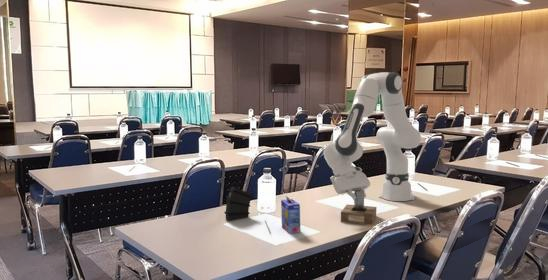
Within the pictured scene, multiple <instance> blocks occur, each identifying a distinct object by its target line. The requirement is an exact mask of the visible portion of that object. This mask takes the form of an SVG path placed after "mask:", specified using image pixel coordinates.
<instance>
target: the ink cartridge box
mask: <svg viewBox="0 0 548 280" xmlns="http://www.w3.org/2000/svg"><path fill="white" fill-rule="evenodd" d="M280 203H281V204H280V205H281V212H280V213H281V228H283V230H285V231H286V232H287V233H288V234H297V233H301V206H300V203H298V202H297V201H295V200H294V199H292V198H289V197H288V196H285V199H281V200H280Z"/></svg>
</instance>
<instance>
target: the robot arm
mask: <svg viewBox="0 0 548 280" xmlns="http://www.w3.org/2000/svg"><path fill="white" fill-rule="evenodd" d="M402 87H403V78H402V76H401V75H400V74H399V73H397V72H393V71H391V72H387V71H385V72H384V71H382V72H374V73H368V74H365V75H363V76H362V77H361V79H360V82H359V84H358V87H357V89H356V91H355V94H354V98H353V101H352V105H351V108H350V110H349V111H348V114H347V118H346V121H345V124H344V126H343V129H342V131H341V133H340V134H339V135H338V136H337V138H336V140H335V142H331V143H329V144H327V145H326V146H325V148H324V149H323V157H324V159H325V162H326V163H327V165H328V166H329V168H331V170H332V174H334V175H332V176H331V177H330V182H331V183H332V186H333V188H334V191H335V192H336V194H338V195H343V194H347V195H348V196H350V198H352V199H353V201H354V200H356V199H357V198H358V197H357V195H355V194H354V192H355V190H363V191H364V199H365V198H366V197H367V194H366V191H365V190H366V189H368V188H369V187H370V186H371V181H370V180H369V178H368V177H367V175H366V174H365V173H364V172H362V171H363V169H362V168H361V167H359V166H355V165H352V163H354V162H356V161H357V160H359V159H361V157H362V156H363V155H364V148H363V146H362V145H361V143H360V142H359V141H358V139H357V133H358V130H359V127H360V124H361V121H362V120H363V118H369V117H370V116H372V115H373V113H374V112H375V110H376V106H377V103H378V99H379V96H381V103H382V111H383V117H384V119H385V120H386V121H387V122H388V123H389V124H390V125H391V126H382V127H379V129H378V130H377V132H376V140H377V141H376V142H378V144H380V146H381V147H382V149H383V151H384V154H385V157H386V172H385V180H384V181H383V182H382V189H381V190H382V191H381V193H380V194H379V195H378V198H381V199H384V200H387V201H392V202H407V201H414V200H415V199H416V198H415V196H414V195H413V193H412V184H411V183H410V181H409V177H410V176H409V175H410V174H409V159H408V157H407V156H406V155H405V154H404V153H403V151H402V149H414V148H417V147H418V146H419V145H420V144H421V142H422V135H421V133H420V131H419V130H418V129H417V128H415V127H414V125H413V124H412V122H410V119H409V118H408V116H407V113H406V112H407V111H406V107H405V99H404V95H403V92H402Z"/></svg>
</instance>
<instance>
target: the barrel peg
mask: <svg viewBox="0 0 548 280" xmlns="http://www.w3.org/2000/svg"><path fill="white" fill-rule="evenodd" d="M353 193H354V194H355V195H357V197H358V198H357V199H356V200H353V205H354V211H361V212H364V206H365V198H364V191H363V190H355V191H353Z"/></svg>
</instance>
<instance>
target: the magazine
mask: <svg viewBox="0 0 548 280" xmlns="http://www.w3.org/2000/svg"><path fill="white" fill-rule="evenodd" d="M228 190H229V193H228V195H227V198H226V200H225V202H226V205H225V211H224V214H225V220H226V221H229V222H230V221H234V220H241V219H245V218H249V215H250V214H251V213H250V212H249V210H250V207H251V205H250V204H251V201H252V200H253V199H254V197H253V196H254V195H253V193H250V192H247V191H244V190H242V189H239V188H237V187H234V186H231V188H229V189H228Z"/></svg>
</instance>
